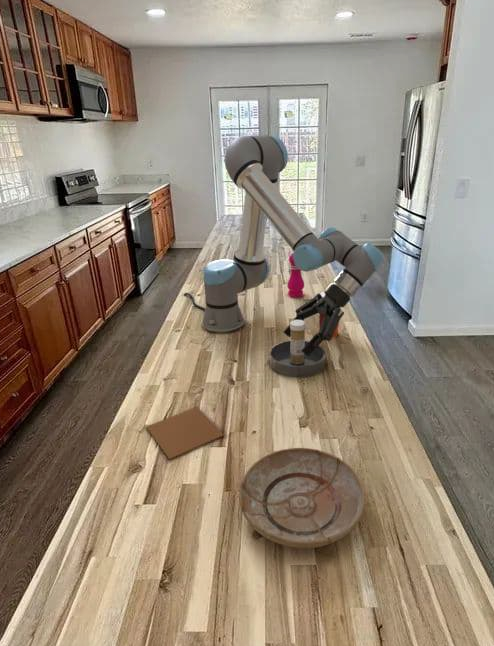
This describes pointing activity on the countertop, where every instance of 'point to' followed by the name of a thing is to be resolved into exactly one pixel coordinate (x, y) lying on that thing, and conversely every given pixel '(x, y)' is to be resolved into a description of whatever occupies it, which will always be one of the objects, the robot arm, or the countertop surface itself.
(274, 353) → the pan
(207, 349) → the countertop surface
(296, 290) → the pepper mill
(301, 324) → the sprinkles bottle
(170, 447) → the cork mat
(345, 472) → the ceramic bowl
